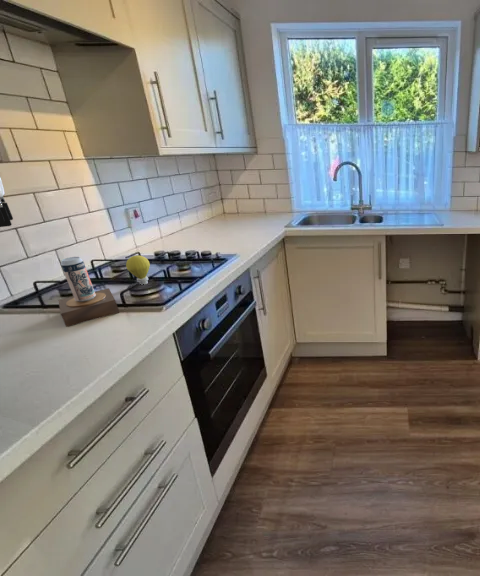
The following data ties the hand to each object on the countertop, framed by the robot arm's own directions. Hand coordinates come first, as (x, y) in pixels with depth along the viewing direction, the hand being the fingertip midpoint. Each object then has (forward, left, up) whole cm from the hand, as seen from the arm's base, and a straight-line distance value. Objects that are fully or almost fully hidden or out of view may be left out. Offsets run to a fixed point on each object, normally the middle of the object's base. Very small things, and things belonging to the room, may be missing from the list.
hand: (3, 223), depth 81 cm
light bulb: (+25, +24, -29) cm, 45 cm away
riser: (+9, +9, -29) cm, 31 cm away
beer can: (+9, +9, -25) cm, 28 cm away
